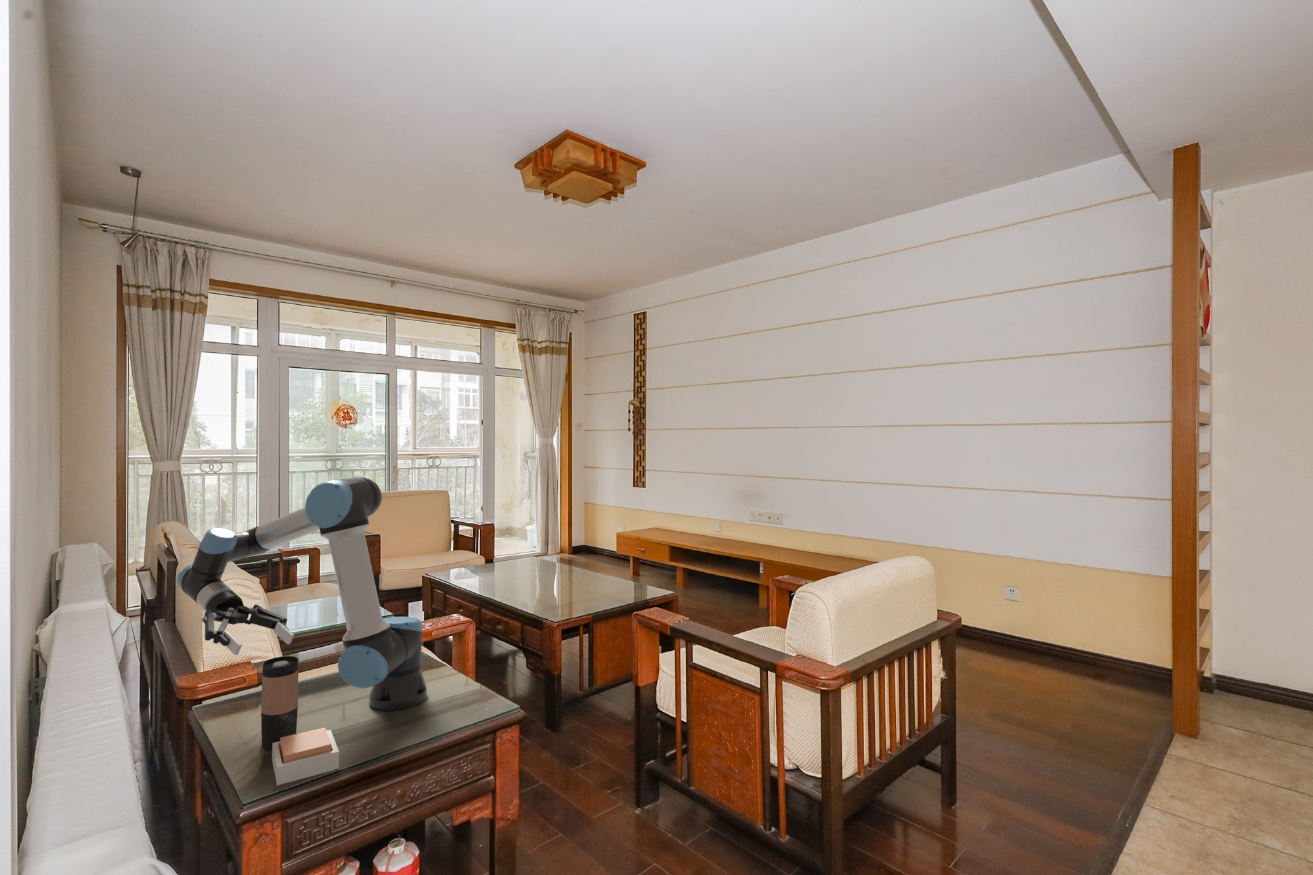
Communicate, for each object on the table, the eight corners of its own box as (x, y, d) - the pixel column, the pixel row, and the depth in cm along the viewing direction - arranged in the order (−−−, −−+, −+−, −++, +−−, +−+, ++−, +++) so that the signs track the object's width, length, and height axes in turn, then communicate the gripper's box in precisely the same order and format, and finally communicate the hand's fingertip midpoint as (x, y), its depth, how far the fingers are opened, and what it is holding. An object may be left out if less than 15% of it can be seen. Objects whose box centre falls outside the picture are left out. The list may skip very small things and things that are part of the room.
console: (330, 745, 150) (330, 729, 150) (338, 768, 140) (339, 751, 140) (272, 760, 143) (272, 743, 143) (276, 785, 133) (277, 767, 133)
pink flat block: (324, 739, 148) (325, 727, 148) (330, 756, 141) (331, 743, 141) (279, 750, 143) (280, 737, 143) (283, 768, 135) (284, 755, 135)
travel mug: (296, 732, 156) (298, 653, 156) (297, 746, 149) (299, 664, 149) (260, 739, 152) (262, 659, 151) (260, 754, 145) (262, 669, 145)
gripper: (261, 608, 176) (305, 648, 167) (162, 622, 153) (208, 668, 145) (270, 585, 175) (315, 623, 167) (173, 595, 153) (219, 640, 144)
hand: (265, 644), depth 156 cm, fingers open, 13 cm apart
